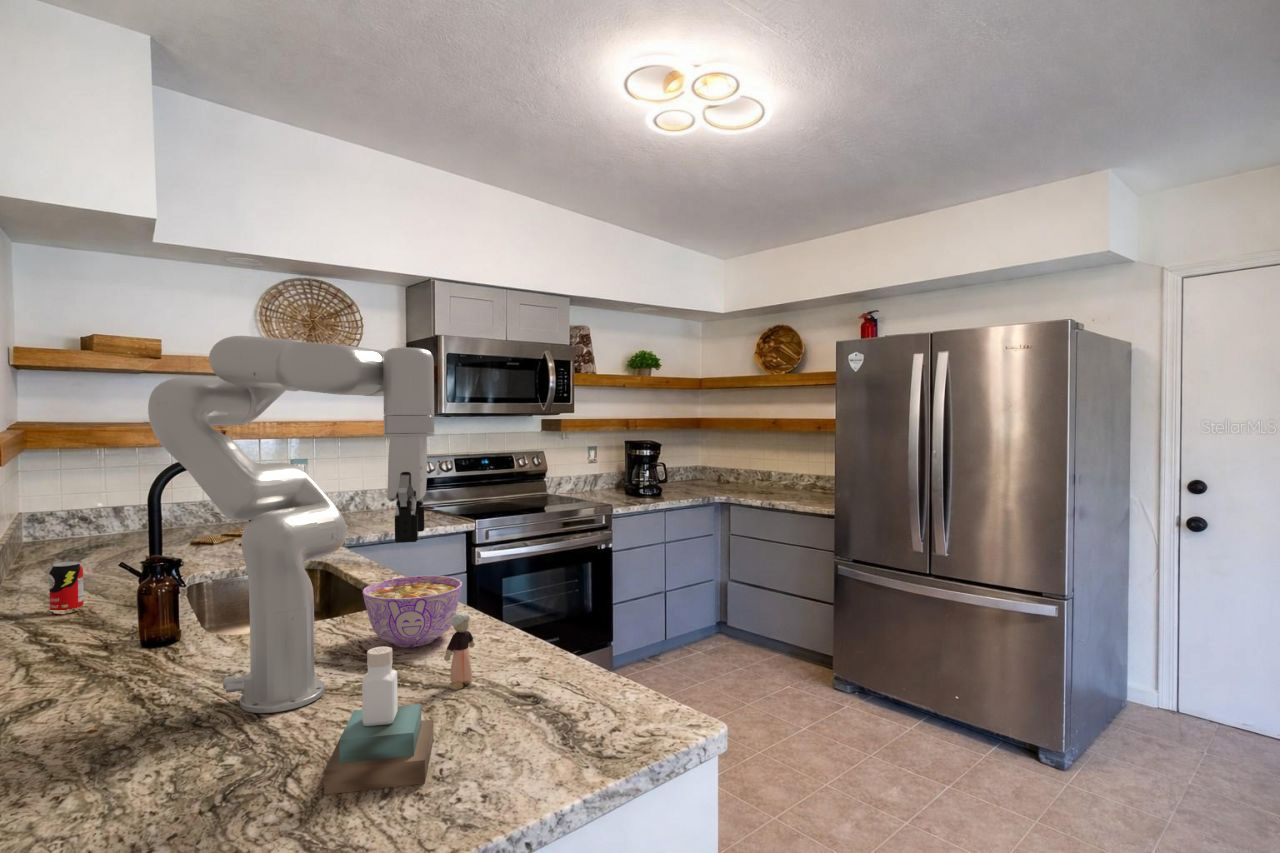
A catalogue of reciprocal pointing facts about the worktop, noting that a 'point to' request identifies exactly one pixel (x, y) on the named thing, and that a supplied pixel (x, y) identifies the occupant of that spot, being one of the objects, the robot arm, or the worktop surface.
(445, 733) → the worktop surface
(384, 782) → the square push button
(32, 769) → the worktop surface
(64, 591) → the beverage can
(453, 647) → the grandmother figurine
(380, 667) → the pepper shaker
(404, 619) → the bowl of food
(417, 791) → the worktop surface
